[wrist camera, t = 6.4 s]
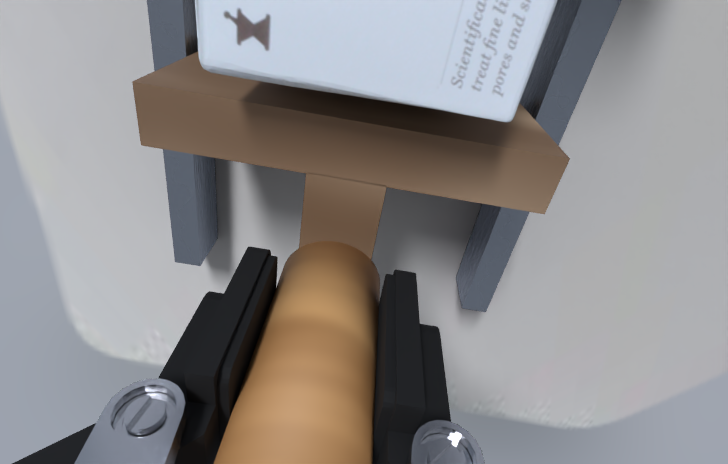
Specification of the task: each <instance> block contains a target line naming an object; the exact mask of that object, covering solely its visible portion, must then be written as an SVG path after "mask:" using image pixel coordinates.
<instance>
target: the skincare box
mask: <svg viewBox="0 0 728 464" xmlns="http://www.w3.org/2000/svg"><path fill="white" fill-rule="evenodd" d="M557 1H558V0H195V11H196V25H197V38H198V54H199V60H200V64H201V66H202V67H203V69H205V70H207V71H209V72H211V73H216V74H221V75H227V76H233V77H238V78H244V79H250V80H256V81H262V82H268V83H273V84H279V85H285V86H292V87H298V88H305V89H311V90H318V91H324V92H331V93H337V94H344V95H350V96H357V97H363V98H369V99H375V100H381V101H388V102H394V103H400V104H406V105H412V106H419V107H425V108H431V109H437V110H442V111H447V112H453V113H458V114H463V115H468V116H474V117H479V118H485V119H490V120H495V121H500V122H511V121H512V120H513V118H514V116H515V113H516V111H517V108H518V105H519V102H520V100H521V97H522V95H523V92H524V89H525V87H526V84H527V82H528V79H529V76H530V74H531V71H532V68H533V66H534V63H535V60H536V58H537V55H538V52H539V49H540V47H541V44H542V41H543V38H544V36H545V33H546V30H547V28H548V25H549V22H550V20H551V17H552V14H553V12H554V9H555V6H556V3H557Z"/></svg>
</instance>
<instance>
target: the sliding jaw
mask: <svg viewBox="0 0 728 464" xmlns="http://www.w3.org/2000/svg"><path fill="white" fill-rule="evenodd" d="M133 90H134V97H135V104H136V111H137V119H138V126H139V133H140V141H141V145H143V146H148V147H154V148H160V149H166V150H172V151H178V152H184V153H189V154H195V155H201V156H207V157H213V158H219V159H225V160H230V161H236V162H242V163H248V164H254V165H260V166H265V167H271V168H277V169H283V170H289V171H295V172H301V173H306V179H305V189H304V200H303V211H302V222H301V233H300V243H299V249H297V250H296V251H295V252H294V253H292V254H291V255H290V257H289V258H288V259H287V261H286V263H285V265H284V268H283V271H282V274H281V276H280V279H279V282H278V285H277V288H276V290H275V293H274V296H273V299H272V302H271V304H270V307H269V310H268V313H267V316H266V318H265V321H264V324H263V327H262V330H261V332H260V335H259V338H258V341H257V344H256V346H255V349H254V352H253V355H252V358H251V360H250V363H249V366H248V369H247V372H246V374H245V377H244V380H243V383H242V386H241V388H240V391H239V394H238V397H237V400H236V402H235V405H234V408H233V411H232V413H231V416H230V419H229V422H228V425H227V427H226V430H225V433H224V436H223V439H222V441H221V444H220V447H219V450H218V453H217V455H216V458H215V461H214V464H373V433H374V409H375V385H376V361H377V338H378V314H379V294H380V278H379V273H378V271H377V268H376V267H375V265H374V263H373V262H372V261H371V259H372V254H373V249H374V244H375V240H376V235H377V230H378V226H379V221H380V216H381V211H382V207H383V202H384V197H385V193H386V188H387V187H388V188H394V189H400V190H406V191H412V192H418V193H423V194H429V195H435V196H441V197H447V198H453V199H459V200H464V201H470V202H476V203H482V204H488V205H494V206H499V207H505V208H511V209H517V210H523V211H529V212H535V213H540V214H545V212H546V210H547V208H548V205H549V203H550V201H551V199H552V197H553V195H554V192H555V190H556V188H557V186H558V184H559V182H560V179H561V177H562V175H563V173H564V171H565V168H566V166H567V164H568V162H569V160H570V158H569V157H568V156H567V155H566V154H565V153H564V152H563V151H562V149H561V148H560V147H559V146H558V145H557V144H556V143H555V142H554V141H553V139H552V138H551V137H550V136H549V135H548V134H547V133H546V132H545V130H544V129H543V128H542V127H541V126H540V125H539V124H538V123H537V122H536V120H535V119H534V118H533V117H532V116H531V115H530V114H529V113H528V111H527V110H526V109H525V108H524V107H523V106H522V105H521V104H520V103H519V105H518V108H517V111H516V113H515V116H514V118H513V120H512V121H511V122H500V121H495V120H490V119H485V118H479V117H474V116H468V115H463V114H458V113H453V112H447V111H442V110H437V109H431V108H425V107H419V106H412V105H406V104H400V103H394V102H388V101H381V100H375V99H369V98H363V97H357V96H350V95H344V94H337V93H331V92H324V91H318V90H311V89H305V88H298V87H292V86H285V85H279V84H273V83H268V82H262V81H256V80H250V79H244V78H238V77H233V76H227V75H221V74H216V73H211V72H209V71H207V70H205V69H203V67H202V66H201V64H200V60H199V54H198V52H196V53H194V54H191V55H189V56H187V57H185V58H183V59H180V60H178V61H176V62H174V63H172V64H170V65H167V66H165V67H163V68H161V69H159V70H157V71H154V72H152V73H150V74H148V75H146V76H144V77H141V78H139V79H137V80H135V81H133Z"/></svg>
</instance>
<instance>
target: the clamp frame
mask: <svg viewBox="0 0 728 464" xmlns="http://www.w3.org/2000/svg"><path fill="white" fill-rule="evenodd" d="M620 3H621V0H558V1H557V3H556V6H555V9H554V12H553V14H552V17H551V20H550V22H549V25H548V28H547V30H546V33H545V36H544V38H543V41H542V44H541V47H540V49H539V52H538V55H537V58H536V60H535V63H534V66H533V68H532V71H531V74H530V76H529V79H528V82H527V84H526V87H525V89H524V92H523V95H522V97H521V100H520V102H519V103H520V104H521V105H522V106H523V107H524V108H525V109H526V110H527V111H528V113H529V114H530V115H531V116H532V117H533V118H534V119H535V120H536V122H537V123H538V124H539V125H540V126H541V127H542V128H543V129H544V130H545V132H546V133H547V134H548V135H549V136H550V137H551V138H552V139H553V141H554V142H555V143H556V144H557V145H559V143H560V140H561V138H562V136H563V134H564V131H565V129H566V127H567V124H568V122H569V120H570V117H571V115H572V113H573V111H574V108H575V106H576V104H577V101H578V99H579V97H580V94H581V92H582V90H583V88H584V85H585V83H586V81H587V78H588V76H589V74H590V71H591V69H592V67H593V65H594V62H595V60H596V58H597V55H598V53H599V51H600V49H601V46H602V44H603V42H604V39H605V37H606V35H607V32H608V30H609V28H610V26H611V23H612V21H613V19H614V16H615V14H616V12H617V9H618V7H619V5H620ZM147 5H148V14H149V23H150V33H151V42H152V51H153V60H154V70H155V71H157V70H159V69H161V68H163V67H165V66H167V65H170V64H172V63H174V62H176V61H178V60H180V59H183V58H185V57H187V56H189V55H191V54H194V53H196V52H198V38H197V25H196V11H195V0H147ZM163 153H164V163H165V172H166V181H167V191H168V200H169V209H170V219H171V228H172V237H173V246H174V256H175V262H179V263H185V264H191V265H197V266H201V264H202V262H203V261H204V259H205V258H206V256H207V255H208V253H209V251H210V250H211V248H212V247H213V245H214V244H215V242H216V240H217V239H218V231H217V204H216V176H215V158H213V157H207V156H201V155H195V154H189V153H184V152H178V151H172V150H166V149H163ZM528 214H529V211H523V210H517V209H511V208H505V207H499V206H494V205H488V204H482V206H481V209H480V212H479V214H478V217H477V220H476V223H475V226H474V228H473V231H472V234H471V237H470V239H469V242H468V245H467V248H466V251H465V253H464V256H463V259H462V262H461V265H460V267H459V270H458V273H457V276H456V280H457V286H458V291H459V296H460V301H461V306H462V308H464V309H470V310H476V311H483V312H486V310H487V308H488V306H489V304H490V301H491V299H492V297H493V294H494V292H495V290H496V288H497V285H498V283H499V281H500V278H501V276H502V274H503V271H504V269H505V267H506V265H507V262H508V260H509V258H510V255H511V253H512V251H513V248H514V246H515V244H516V242H517V239H518V237H519V235H520V232H521V230H522V228H523V225H524V223H525V221H526V219H527V216H528Z"/></svg>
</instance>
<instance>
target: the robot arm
mask: <svg viewBox="0 0 728 464" xmlns="http://www.w3.org/2000/svg"><path fill="white" fill-rule="evenodd" d="M276 280H277V257H276V256H271V252H270V250H267V249H261V248H255V247H248V248H247V250H246V252H245V254H244V256H243V258H242V260H241V262H240V263H239V265H238V267H237V269H236V271H235V273H234V275H233V277H232V279H231V281H230V283H229V285H228V287H227V289H226V291H225V293H224V294H222V293H216V292H208V293H207V294H206V295H205V296H204V298H203V300H202V301H201V303H200V305H199V307H198V308H197V310H196V312H195V314H194V316H193V317H192V319H191V321H190V323H189V324H188V326H187V328H186V330H185V332H184V333H183V335H182V337H181V339H180V340H179V342H178V344H177V346H176V348H175V349H174V351H173V353H172V355H171V356H170V358H169V360H168V362H167V363H166V365H165V367H164V369H163V371H162V372H161V374H160V376H159V378H156V379H145V380H142V381H138V382H134V383H132V384H130V385H129V386H127V387H125V388H123V389H122V390H120V391H119V392H118V393H117V394H116V395H114V396H113V397H112V398H111V400H110V401H109V402H108V404H107V405H106V407H105V408H104V410H103V412H102V413H101V415H100V417H99V419H98V421H97V423H95V424H93V425H91V426H89V427H87V428H85V429H83V430H81V431H79V432H76V433H74V434H72V435H70V436H68V437H66V438H64V439H62V440H60V441H58V442H56V443H54V444H52V445H50V446H48V447H46V448H44V449H42V450H39V451H37V452H36V453H33V454H31V455H29V456H27V457H25V458H23V459H21V460H19V461H17V462H15V463H13V464H214V461H215V458H216V455H217V453H218V450H219V447H220V444H221V441H222V439H223V436H224V433H225V430H226V427H227V425H228V422H229V419H230V416H231V413H232V411H233V408H234V405H235V402H236V400H237V397H238V394H239V391H240V388H241V386H242V383H243V380H244V377H245V374H246V372H247V369H248V366H249V363H250V360H251V358H252V355H253V352H254V349H255V346H256V344H257V341H258V338H259V335H260V332H261V330H262V327H263V324H264V321H265V318H266V316H267V313H268V310H269V307H270V304H271V302H272V299H273V296H274V293H275V290H276ZM373 464H485V462H484V458H483V454H482V450H481V448H480V447H479V445H478V443H477V441H476V440H475V439H474V438H473V436H471V435H470V433H469V432H468V431H467V430H465V429H464V428H462V427H460V426H459V425H458V424H455V423H452V422H451V419H450V411H449V403H448V395H447V387H446V378H445V370H444V362H443V354H442V346H441V338H440V332H439V328H438V327H436V326H430V325H423V324H420V323H419V309H418V295H417V281H416V273H412V272H406V271H400V270H395V271H394V274H393V275H390V274H386V276H385V280H384V285H383V289H382V293H381V298H380V302H379V314H378V338H377V361H376V385H375V409H374V433H373Z"/></svg>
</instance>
